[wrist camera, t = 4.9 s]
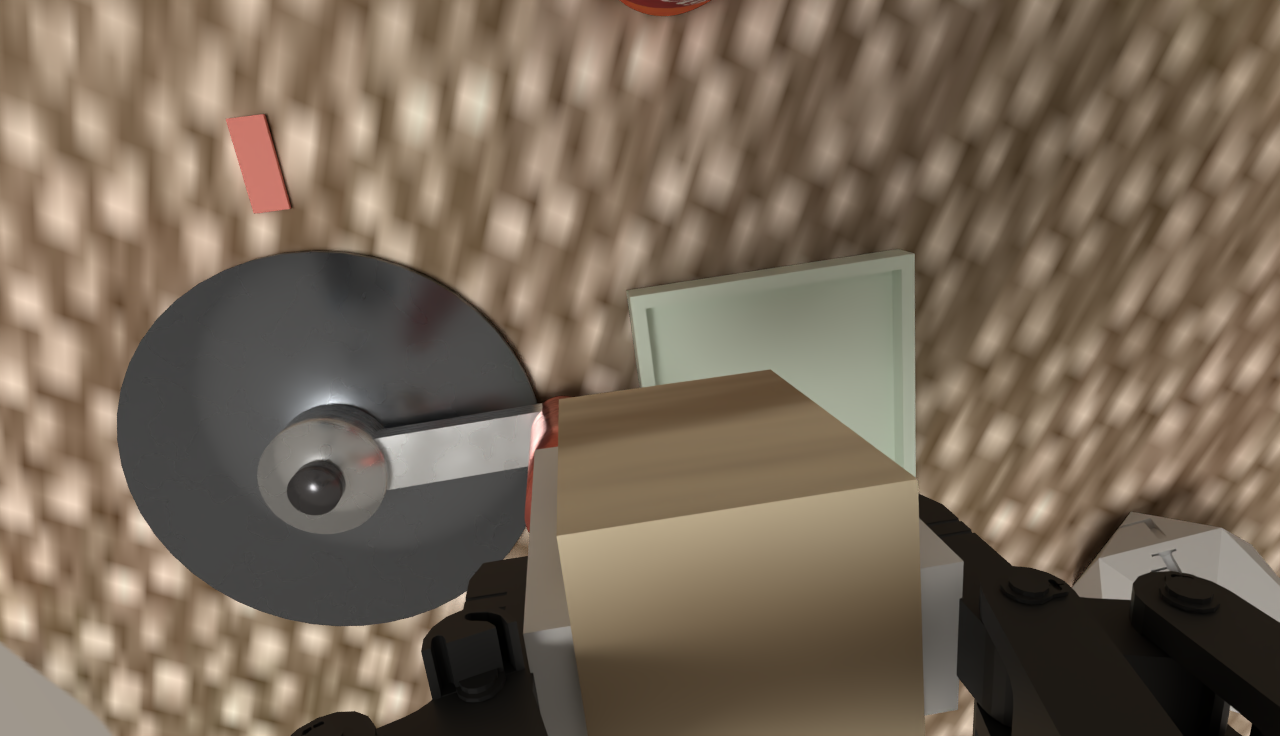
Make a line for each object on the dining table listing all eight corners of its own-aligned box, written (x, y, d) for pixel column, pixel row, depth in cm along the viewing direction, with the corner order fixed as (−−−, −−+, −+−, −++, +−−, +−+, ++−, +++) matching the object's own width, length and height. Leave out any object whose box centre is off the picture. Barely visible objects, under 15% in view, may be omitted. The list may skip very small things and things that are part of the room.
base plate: (56, 285, 28) (-24, 307, 24) (504, 221, 29) (497, 232, 25) (201, 650, 34) (156, 716, 30) (572, 582, 35) (574, 636, 31)
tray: (626, 290, 31) (629, 297, 29) (898, 249, 32) (914, 253, 30) (660, 536, 35) (664, 553, 33) (901, 493, 36) (915, 507, 34)
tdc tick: (227, 119, 27) (225, 118, 27) (265, 114, 27) (262, 114, 27) (255, 213, 28) (253, 213, 28) (291, 208, 28) (289, 208, 28)
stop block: (559, 399, 16) (556, 535, 9) (770, 369, 16) (917, 478, 10) (587, 593, 17) (604, 842, 10) (785, 561, 18) (926, 781, 11)
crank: (295, 517, 31) (205, 647, 23) (262, 415, 30) (153, 515, 22) (601, 465, 32) (618, 571, 24) (585, 363, 31) (597, 440, 23)
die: (1206, 480, 39) (1277, 509, 30) (1287, 641, 37) (1389, 723, 28) (1042, 525, 42) (1062, 563, 33) (1110, 674, 40) (1151, 757, 31)
